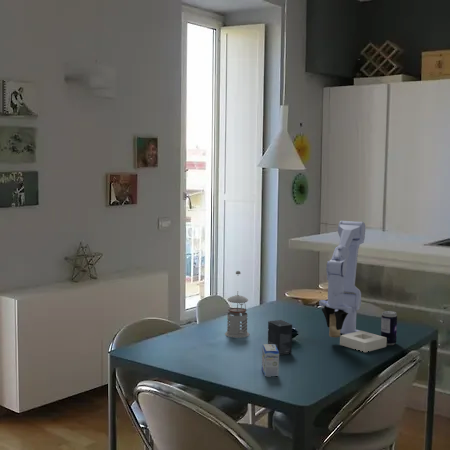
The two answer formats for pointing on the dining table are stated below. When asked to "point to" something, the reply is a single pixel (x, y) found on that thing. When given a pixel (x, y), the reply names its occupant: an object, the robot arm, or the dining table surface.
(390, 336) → the beverage can
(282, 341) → the box
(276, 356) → the medicine box
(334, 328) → the beech peg
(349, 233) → the robot arm
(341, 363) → the dining table surface
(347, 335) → the socket block
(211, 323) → the dining table surface
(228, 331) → the french press
